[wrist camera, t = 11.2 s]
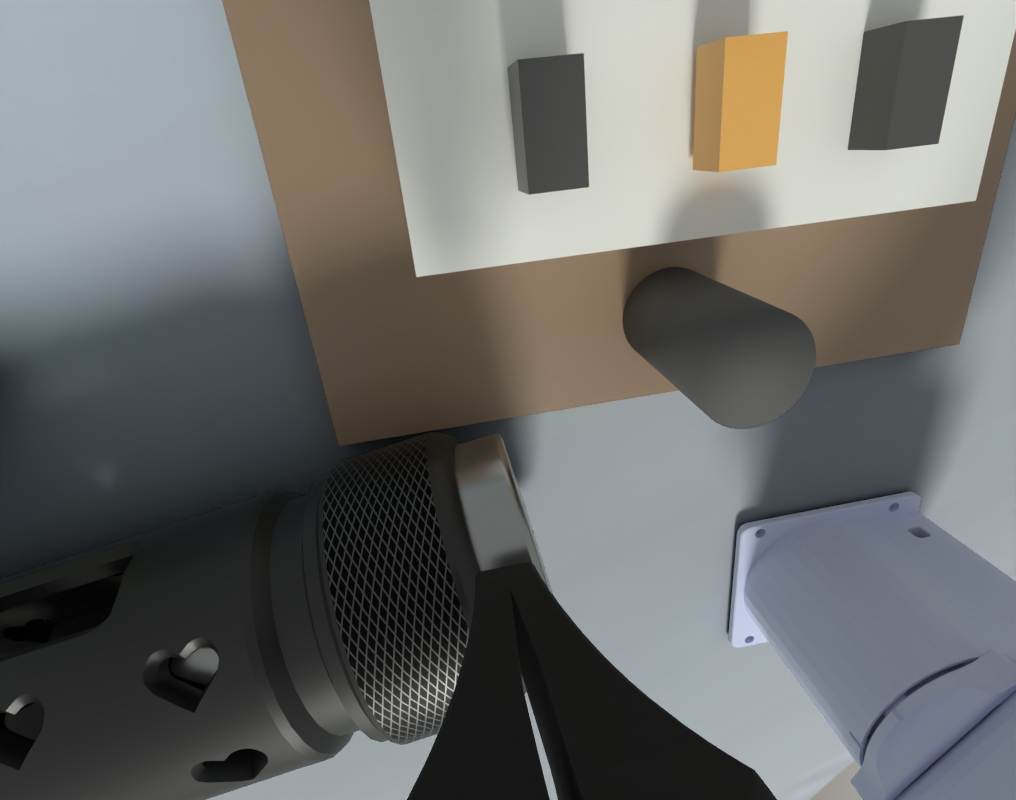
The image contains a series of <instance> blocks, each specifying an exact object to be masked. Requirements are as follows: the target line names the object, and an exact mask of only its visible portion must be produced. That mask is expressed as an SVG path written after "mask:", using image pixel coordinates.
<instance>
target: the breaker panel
mask: <svg viewBox="0 0 1016 800" xmlns="http://www.w3.org/2000/svg"><path fill="white" fill-rule="evenodd" d="M222 2H223V5H224V9H225V13H226V17H227V21H228V25H229V28H230V32H231V36H232V40H233V44H234V48H235V51H236V55H237V59H238V63H239V67H240V70H241V74H242V78H243V82H244V86H245V90H246V93H247V97H248V101H249V105H250V109H251V113H252V116H253V120H254V124H255V128H256V132H257V135H258V139H259V143H260V147H261V151H262V155H263V158H264V162H265V166H266V170H267V174H268V178H269V181H270V185H271V189H272V193H273V197H274V200H275V204H276V208H277V212H278V216H279V220H280V223H281V227H282V231H283V235H284V239H285V243H286V246H287V250H288V254H289V258H290V262H291V266H292V269H293V273H294V277H295V281H296V285H297V288H298V292H299V296H300V300H301V304H302V308H303V311H304V315H305V319H306V323H307V327H308V331H309V334H310V338H311V342H312V346H313V350H314V353H315V357H316V361H317V365H318V369H319V373H320V376H321V380H322V384H323V388H324V392H325V396H326V399H327V403H328V407H329V411H330V415H331V418H332V422H333V426H334V430H335V434H336V438H337V441H338V445H339V446H343V445H349V444H355V443H361V442H367V441H373V440H379V439H385V438H391V437H397V436H404V435H410V434H416V433H422V432H428V431H434V430H440V429H446V428H452V427H458V426H464V425H470V424H476V423H482V422H489V421H495V420H501V419H507V418H513V417H519V416H525V415H531V414H537V413H543V412H549V411H555V410H561V409H568V408H574V407H580V406H586V405H592V404H598V403H604V402H610V401H616V400H622V399H628V398H634V397H640V396H646V395H653V394H659V393H665V392H671V391H677V390H679V389H677V388H676V387H675V386H674V385H673V384H672V383H671V382H670V381H668V380H667V379H666V378H665V377H664V376H663V375H662V374H661V373H660V372H658V371H657V370H656V369H655V368H654V367H653V366H652V365H651V364H650V363H648V362H647V361H646V360H645V359H644V358H643V357H642V356H641V355H639V354H638V353H637V352H636V351H635V350H634V349H633V348H632V347H631V345H630V344H629V343H628V341H627V339H626V336H625V334H624V330H623V312H624V308H625V305H626V302H627V300H628V298H629V296H630V294H631V292H632V291H633V290H634V288H635V287H636V286H637V285H638V284H639V283H640V282H641V281H642V280H643V279H644V278H645V277H647V276H648V275H650V274H651V273H654V272H656V271H658V270H661V269H664V268H668V267H683V268H687V269H690V270H692V271H695V272H697V273H699V274H702V275H704V276H706V277H709V278H711V279H713V280H715V281H718V282H720V283H722V284H725V285H727V286H729V287H732V288H734V289H736V290H738V291H741V292H743V293H745V294H748V295H750V296H752V297H755V298H757V299H759V300H762V301H764V302H766V303H768V304H771V305H773V306H775V307H778V308H780V309H782V310H785V311H787V312H789V313H791V314H793V315H795V316H797V317H798V318H800V319H801V320H802V321H803V322H804V323H805V324H806V325H807V326H808V328H809V329H810V331H811V333H812V335H813V338H814V341H815V346H816V363H815V368H816V367H823V366H829V365H835V364H841V363H847V362H853V361H859V360H865V359H871V358H877V357H883V356H889V355H895V354H901V353H908V352H914V351H920V350H926V349H932V348H938V347H944V346H950V345H956V344H960V340H961V336H962V332H963V328H964V324H965V319H966V315H967V311H968V307H969V303H970V299H971V295H972V291H973V287H974V283H975V279H976V275H977V271H978V267H979V262H980V258H981V254H982V250H983V246H984V242H985V238H986V234H987V230H988V226H989V222H990V218H991V214H992V209H993V205H994V201H995V197H996V193H997V189H998V185H999V181H1000V177H1001V173H1002V169H1003V165H1004V161H1005V156H1006V152H1007V148H1008V144H1009V140H1010V136H1011V132H1012V128H1013V124H1014V120H1015V116H1016V0H222ZM785 31H788V39H787V50H786V61H785V73H784V84H783V95H782V106H781V117H780V128H779V140H778V151H777V162H776V165H773V166H765V167H756V168H748V169H740V170H732V171H724V172H710V171H698V170H693V148H694V117H695V86H696V55H697V47H699V46H702V45H705V44H708V43H711V42H714V41H717V40H719V39H722V38H725V37H734V36H744V35H755V34H765V33H775V32H785Z"/></svg>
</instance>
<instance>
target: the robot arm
mask: <svg viewBox="0 0 1016 800" xmlns="http://www.w3.org/2000/svg"><path fill="white" fill-rule="evenodd" d="M920 504H921V498H920V496H919V495H917V494H916V493H914V492H905V493H899V494H894V495H889V496H884V497H878V498H873V499H868V500H863V501H858V502H852V503H847V504H842V505H837V506H832V507H826V508H821V509H816V510H811V511H806V512H800V513H795V514H790V515H785V516H780V517H774V518H769V519H764V520H759V521H754V522H748V523H745V524H743V525H742V526H740V528H739V529H738V532H737V540H736V552H735V564H734V576H733V588H732V600H731V612H730V624H729V636H728V639H729V642H730V643H731V645H732V646H733V647H735V648H740V647H745V646H750V645H754V644H759V643H764V642H769V643H770V644H771V646H772V647H773V649H774V650H775V651H776V653H777V654H778V655H779V657H780V658H781V660H782V661H783V662H784V664H785V665H786V666H787V668H788V669H789V671H790V672H791V673H792V675H793V676H794V677H795V679H796V680H797V682H798V683H799V684H800V686H801V687H802V688H803V690H804V691H805V693H806V694H807V695H808V697H809V698H810V699H811V701H812V702H813V704H814V705H815V706H816V708H817V709H818V710H819V712H820V713H821V714H822V716H823V717H824V719H825V720H826V721H827V723H828V724H829V725H830V727H831V728H832V730H833V731H834V732H835V734H836V735H837V736H838V738H839V739H840V741H841V742H842V743H843V745H844V746H845V747H846V749H847V750H848V752H849V753H850V754H851V756H852V757H853V758H854V760H855V761H856V763H857V764H858V765H859V767H860V770H859V771H858V772H857V774H856V775H855V776H854V777H853V778H852V779H851V783H852V785H853V786H854V787H855V789H856V791H857V792H858V793H859V795H860V796H861V798H862V799H863V800H1016V581H1014V580H1013V579H1012V578H1010V577H1009V576H1007V575H1006V574H1005V573H1003V572H1002V571H1000V570H999V569H998V568H996V567H995V566H993V565H992V564H991V563H989V562H988V561H986V560H985V559H984V558H982V557H981V556H979V555H978V554H977V553H975V552H974V551H972V550H971V549H970V548H968V547H967V546H965V545H964V544H963V543H961V542H960V541H958V540H957V539H956V538H954V537H953V536H951V535H950V534H949V533H947V532H946V531H944V530H943V529H942V528H940V527H939V526H937V525H936V524H935V523H933V522H932V521H930V520H929V519H928V518H926V517H925V516H923V515H922V514H921V513H919V508H920ZM758 530H760V531H759V532H757V531H758ZM756 532H757V533H756ZM521 673H522V674H521ZM522 677H523V680H524V683H525V687H526V690H527V693H528V697H529V700H530V703H531V706H532V710H533V713H534V716H535V720H536V723H537V726H538V729H539V733H540V736H541V739H542V743H543V746H544V749H545V752H546V756H547V759H548V762H549V765H550V769H551V773H552V777H553V780H554V784H555V788H556V793H557V797H558V800H777V799H776V798H775V796H774V795H773V794H772V792H771V791H770V789H769V788H768V787H767V786H766V784H765V783H764V782H763V780H762V779H761V778H760V776H759V775H758V774H757V773H756V772H755V770H753V769H752V768H750V767H748V766H746V765H745V764H743V763H741V762H740V761H738V760H736V759H735V758H733V757H731V756H730V755H728V754H727V753H725V752H724V751H722V750H720V749H719V748H717V747H716V746H714V745H713V744H711V743H710V742H708V741H707V740H705V739H704V738H702V737H701V736H699V735H698V734H696V733H695V732H694V731H692V730H691V729H689V728H688V727H686V726H685V725H684V724H682V723H681V722H680V721H678V720H677V719H676V718H675V717H673V716H672V715H671V714H669V713H668V712H667V711H665V710H664V709H663V708H662V707H660V706H659V705H658V704H656V703H655V702H654V701H653V700H651V699H650V698H649V697H648V696H646V695H645V694H644V693H643V692H642V691H641V690H640V689H638V688H637V687H636V686H635V685H634V684H633V683H631V682H630V681H629V680H628V679H627V678H626V677H625V676H624V675H623V674H622V673H621V672H620V671H619V670H617V669H616V668H615V667H614V666H613V665H612V664H611V663H610V662H609V661H608V660H607V659H606V658H605V657H604V656H603V655H602V654H601V653H600V651H599V650H598V649H597V648H596V647H595V646H594V645H593V644H592V643H591V642H590V641H589V640H588V638H587V637H586V636H585V635H584V634H583V633H582V632H581V630H580V629H579V628H578V627H577V626H576V624H575V623H574V622H573V621H572V619H571V618H570V617H569V616H568V614H567V613H566V612H565V611H564V610H563V608H562V607H561V606H560V604H559V603H558V602H557V600H556V599H555V597H554V596H553V594H552V593H551V592H550V590H549V589H548V587H547V586H546V584H545V583H544V581H543V579H542V578H541V576H540V574H539V573H538V571H537V569H536V567H535V565H534V564H532V563H530V562H527V563H522V564H517V565H511V566H506V567H501V568H496V569H491V570H485V571H480V572H478V573H477V575H476V576H475V601H474V609H473V616H472V622H471V627H470V632H469V637H468V642H467V646H466V651H465V654H464V658H463V662H462V665H461V669H460V673H459V676H458V680H457V683H456V686H455V689H454V692H453V695H452V698H451V701H450V704H449V707H448V709H447V712H446V715H445V718H444V720H443V723H442V725H441V728H440V730H439V733H438V735H437V737H436V740H435V742H434V745H433V747H432V749H431V752H430V754H429V756H428V758H427V760H426V763H425V765H424V767H423V769H422V771H421V773H420V775H419V777H418V779H417V781H416V783H415V785H414V787H413V789H412V791H411V793H410V795H409V797H408V799H407V800H549V796H548V792H547V788H546V784H545V780H544V776H543V771H542V767H541V763H540V759H539V755H538V751H537V747H536V743H535V738H534V734H533V730H532V726H531V721H530V717H529V713H528V709H527V704H526V700H525V696H524V691H523V683H522Z"/></svg>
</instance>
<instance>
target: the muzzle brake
mask: <svg viewBox="0 0 1016 800" xmlns="http://www.w3.org/2000/svg"><path fill="white" fill-rule="evenodd" d="M527 562H530V563H532V564H534V565H535V567H536V569H537V571H538V573H539V574H540V576H541V578H542V579H543V581H544V583H545V584H546V586H547V587H548V589H549V590H550V592H551V593H552V590H551V587H550V583H549V580H548V577H547V574H546V571H545V567H544V564H543V561H542V558H541V555H540V552H539V548H538V545H537V542H536V539H535V536H534V533H533V530H532V527H531V523H530V520H529V517H528V514H527V511H526V508H525V505H524V502H523V499H522V495H521V492H520V489H519V486H518V483H517V480H516V477H515V474H514V471H513V468H512V465H511V462H510V459H509V456H508V453H507V450H506V447H505V444H504V441H503V439H502V437H501V435H500V434H499V433H492V434H489V435H486V436H483V437H480V438H477V439H474V440H471V441H467V442H464V443H461V444H458V443H457V441H456V439H455V438H454V437H453V436H452V435H448V434H442V433H438V432H431V433H426V434H423V435H420V436H416V437H413V438H410V439H407V440H404V441H401V442H398V443H395V444H392V445H388V446H385V447H382V448H379V449H376V450H373V451H370V452H367V453H364V454H360V455H357V456H354V457H351V458H348V459H345V460H342V461H339V462H337V463H335V464H334V465H333V466H332V467H331V468H330V469H329V470H328V472H327V473H326V474H323V475H321V476H320V477H318V478H317V479H316V480H315V481H314V483H313V485H312V487H311V489H310V491H309V494H308V495H306V496H303V497H302V496H300V495H299V494H297V493H294V492H289V491H282V490H277V491H273V492H270V493H266V494H263V495H260V496H257V497H254V498H251V499H248V500H244V501H241V502H238V503H235V504H232V505H229V506H226V507H223V508H220V509H216V510H213V511H210V512H207V513H204V514H201V515H198V516H195V517H192V518H188V519H185V520H182V521H179V522H176V523H173V524H170V525H167V526H164V527H160V528H157V529H154V530H151V531H148V532H145V533H142V534H139V535H136V536H132V537H129V538H126V539H123V540H120V541H117V542H114V543H111V544H108V545H104V546H101V547H98V548H95V549H92V550H89V551H86V552H83V553H80V554H76V555H73V556H70V557H67V558H64V559H61V560H58V561H55V562H51V563H48V564H45V565H42V566H39V567H36V568H33V569H30V570H27V571H23V572H20V573H17V574H14V575H11V576H8V577H5V578H2V579H0V800H205V799H208V798H211V797H214V796H217V795H220V794H223V793H226V792H229V791H233V790H236V789H239V788H242V787H245V786H248V785H251V784H254V783H257V782H260V781H263V780H266V779H269V778H272V777H275V776H278V775H281V774H284V773H287V772H290V771H293V770H296V769H299V768H302V767H305V766H308V765H312V764H315V763H318V762H321V761H324V760H327V759H329V758H332V757H334V756H335V755H336V754H337V753H338V752H339V751H340V750H341V749H342V748H343V747H344V746H345V745H346V744H347V743H348V742H349V741H350V739H351V737H352V735H353V733H354V732H355V731H358V730H361V731H362V732H363V733H365V734H366V735H367V736H368V737H369V738H370V739H372V740H376V741H380V742H384V741H387V740H390V741H391V742H393V743H397V744H400V745H403V744H408V743H411V742H414V741H417V740H420V739H423V738H426V737H429V736H432V735H435V734H438V733H439V730H440V728H441V725H442V723H443V720H444V718H445V715H446V712H447V709H448V707H449V704H450V701H451V698H452V695H453V692H454V689H455V686H456V683H457V680H458V676H459V673H460V669H461V665H462V662H463V658H464V654H465V651H466V646H467V642H468V637H469V632H470V627H471V622H472V616H473V609H474V601H475V576H476V575H477V573H478V572H480V571H485V570H491V569H496V568H501V567H506V566H511V565H517V564H522V563H527ZM552 594H553V593H552ZM34 619H46V620H49V621H51V622H52V623H53V624H51V623H45V622H39V621H33V620H34ZM521 674H522V673H521ZM522 683H523V691H524V694H525V693H526V691H527V690H526V687H525V683H524V680H523V677H522Z"/></svg>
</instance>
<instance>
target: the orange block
mask: <svg viewBox="0 0 1016 800" xmlns="http://www.w3.org/2000/svg"><path fill="white" fill-rule="evenodd" d="M787 39H788V31H785V32H775V33H765V34H755V35H744V36H734V37H725V38H722V39H719V40H717V41H714V42H711V43H708V44H705V45H702V46H699V47H697V55H696V86H695V117H694V148H693V170H698V171H710V172H724V171H732V170H740V169H748V168H756V167H765V166H773V165H776V162H777V151H778V140H779V128H780V117H781V106H782V95H783V84H784V73H785V61H786V50H787Z"/></svg>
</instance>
